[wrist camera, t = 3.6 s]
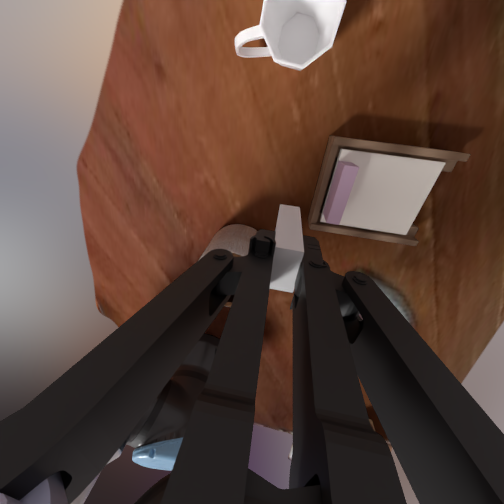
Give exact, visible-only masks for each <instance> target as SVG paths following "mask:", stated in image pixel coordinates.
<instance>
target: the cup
mask: <svg viewBox="0 0 504 504" xmlns="http://www.w3.org/2000/svg"><path fill="white" fill-rule="evenodd" d="M345 5H346V0H264V2H263V8H262V14H261V19H260V25H257V26H254V27H251V28H248V29H246V30H244V31H242V32H240V33H239V34H238V35H237V36H236V37H235V49H236V53H237V55H238V56H241V57H248V58H250V57H267V56H272V58H273V60H274V62H276V63H278V64H280V65H281V66H285V67H288V68H292V69H296V70H299V71H301V70H302V69H304V68H305V67H306V66H308V65H309V64H310V63H312V62H313V61H314V60H316V59H317V58H318V57H319V56H321V55H322V54H323V53H325V52H326V51H327V50H329V49H330V48H331V47H332V45H333V42H334V39H335V36H336V33H337V30H338V27H339V23H340V20H341V17H342V14H343V11H344V8H345ZM263 38H264V39H265V41H266V44H267V46H268V47H257V48H248V47H242V45H243V44H244V43H246V42H249V41H253V40H257V39H263Z"/></svg>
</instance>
